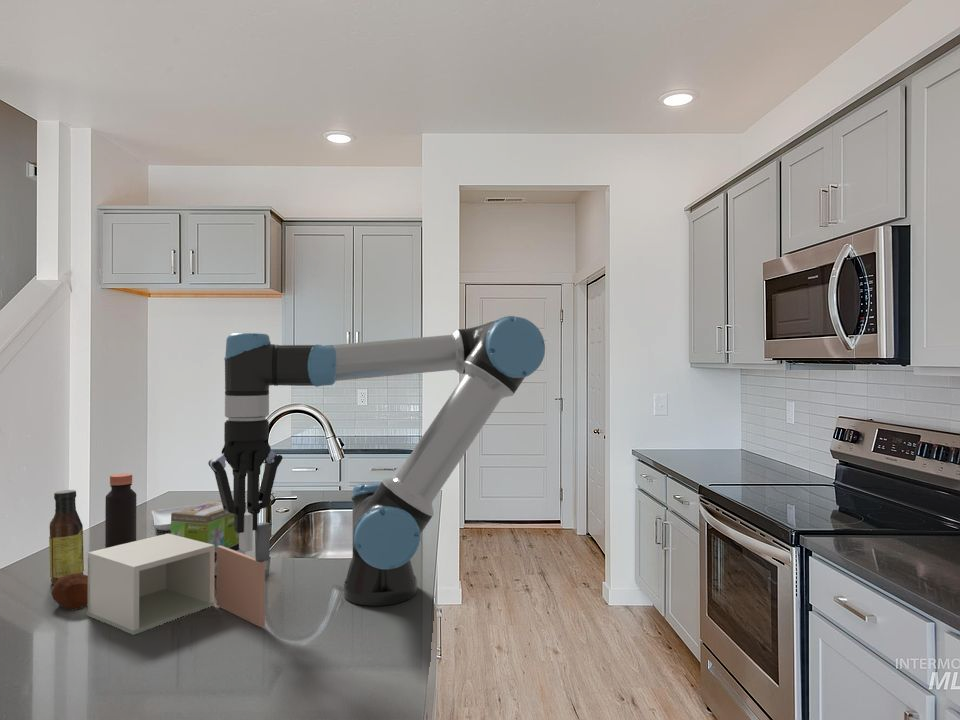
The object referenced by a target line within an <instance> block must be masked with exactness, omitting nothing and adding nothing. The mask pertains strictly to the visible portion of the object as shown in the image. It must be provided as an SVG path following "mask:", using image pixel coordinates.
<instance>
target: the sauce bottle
mask: <svg viewBox="0 0 960 720" xmlns="http://www.w3.org/2000/svg"><path fill="white" fill-rule="evenodd" d="M53 495H54V496H53V499H54V502H55V505H54V507H55V510H54V512H55V513H54V515H53V517H52V519H51V521H50V522H49V537H48V538H49V539H48V542H49V546H48V547H49V578H50V582H51V583H50V584H52V585H53V586H54V584H55V583H56V581H57V580H58V579H60V578H61V577H63V576H66V575H69V574H76V573H80V574H84V571H85V569H84V568H85V563H84V562H85V561H84V559H85V558H84V532H83V531H84V527H83V526H84V525H83V523H82V520H81V518H80V516H79V514H78V511H77V507H76V505H77V504H76V497H77V490H75V489H68V490H67V489H65V490H64V489H63V490H60V491H55V492H54V493H53Z"/></svg>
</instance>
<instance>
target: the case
mask: <svg viewBox="0 0 960 720" xmlns="http://www.w3.org/2000/svg"><path fill="white" fill-rule="evenodd" d="M214 552H215V545H212V544H208V543H204V542H200V541H196V540H192V539H188V538H184V537H180V536H176V535H172V534H171V533H165V534H159V535H156V536H152V537H147V538H142V539H139V540H136V541H134V542H130V543H126V544H121V545H117V546H113V547H109V548H102V549H101V548H100V549H97V550H93V551H88V552H87V576H88V604H87V617H90V618H93V619H94V618H95V620H97V621H99V620H100V621H99V622H101V623H104V622H105V623H104V624H106V623H107V625H109V624H110V625H109V626H111V625H112V626H111V627H113V626H115V627H114V628H116V627H117V628H116V629H118V628H119V629H118V630H120V629H121V631H123V632H125V633H128V634H130V635H133V636H134V635H137V634H140V633H143V632H145V631H148V629H149V630H151V629H154V628H157V627H159V625H160V626H162V625H165V624H167V623H166V622H168V623H170V622H169V621H171V622H173V621H176V620H178V619H177V618H179V619H181V618H180V617H182V616H184V617H186V616H185V615H187V616H189V615H188V614H190V615H192V614H191V613H193V614H195V613H198V612H201V611H203V610H202V609H204V610H206V609H208V607H209V608H211V607H210V606H212V607H214V606H215V576H214ZM205 608H206V609H205ZM200 610H201V611H200ZM197 611H198V612H197ZM194 612H195V613H194ZM182 618H183V617H182ZM175 619H176V620H175ZM172 620H173V621H172ZM164 623H165V624H164ZM156 626H157V627H156Z"/></svg>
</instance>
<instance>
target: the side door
mask: <svg viewBox="0 0 960 720" xmlns="http://www.w3.org/2000/svg"><path fill="white" fill-rule="evenodd" d="M270 524H271V523H270V522H257V529H256V530H255V557H253V556H250V555H247V554H246V553H245V554H243V553H240V552H237V551H235V550H232V549H229V548H227V547H224V546H221V545H220V546H217V575H216V606H217V607H220V608H222V609H224V610H226V611H227V612H229V613H232V614H234V615H235V616H237V617H238V618H239V617H240V618H242V619H244V620H246V622H247V621H248V622H250V623H252V624H253V625H256V626H258V627H259V628H262V627H265V626H266V562H267V561H270V532H271V531H270Z"/></svg>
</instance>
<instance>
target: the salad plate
mask: <svg viewBox="0 0 960 720" xmlns="http://www.w3.org/2000/svg"><path fill="white" fill-rule="evenodd" d="M195 505H196V504H195ZM195 505H193V504H191V505H185V506H177V507H170V508H162V509H154V510H151V515H152V517H153V526H154V527H155V528H156V529H157V530H159V531H165V532H171V513H173V512H176V511H180V510H183V509H186V508H189V507H192V506H195Z"/></svg>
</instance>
